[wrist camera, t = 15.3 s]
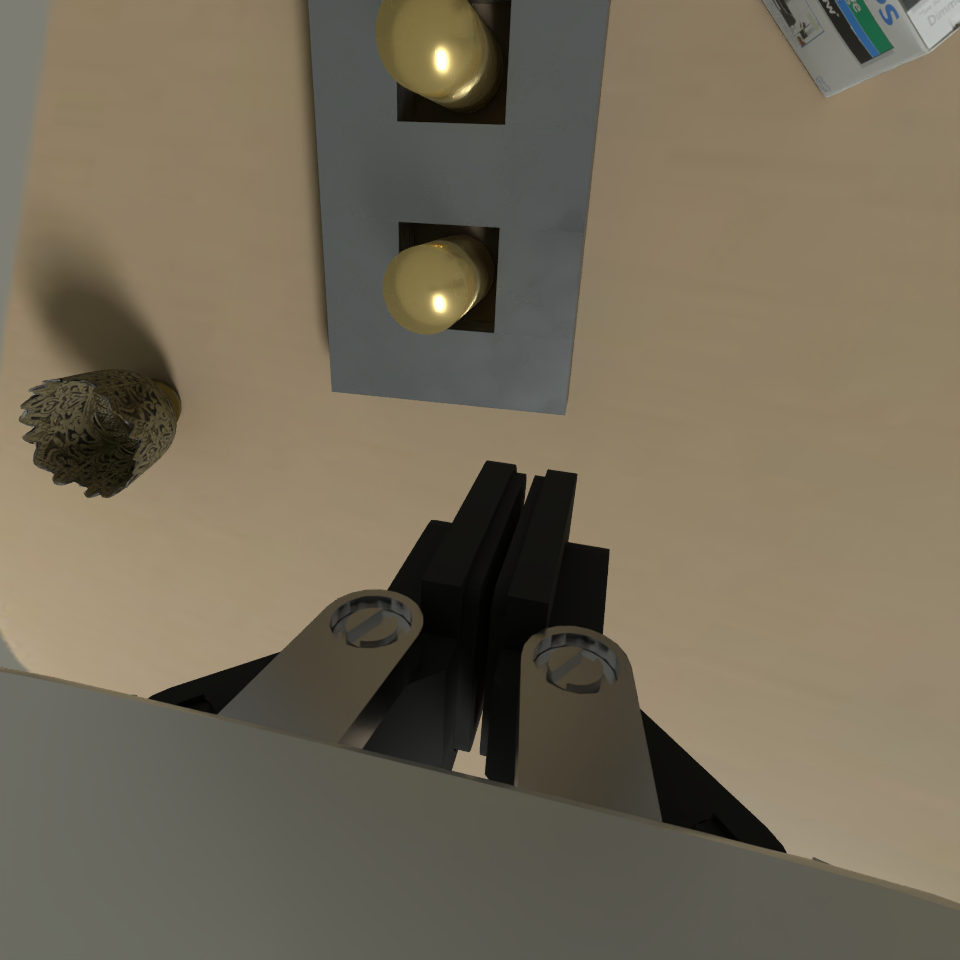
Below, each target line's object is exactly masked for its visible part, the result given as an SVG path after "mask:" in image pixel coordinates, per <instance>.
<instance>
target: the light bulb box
mask: <svg viewBox="0 0 960 960" xmlns="http://www.w3.org/2000/svg"><path fill="white" fill-rule="evenodd" d="M762 1H763V3H764V4H765V6H766V7H767V9H768V10H769V12H770V14H771V15H772V17H773V18H774V20H775V21H776V23H777V24H778V26H779V28H780V29H781V31H782V32H783V34H784V35H785V37H786V38H787V40H788V41H789V43H790V45H791V46H792V48H793V49H794V51H795V52H796V54H797V55H798V57H799V58H800V60H801V61H802V63H803V65H804V66H805V68H806V69H807V71H808V72H809V74H810V75H811V77H812V78H813V80H814V81H815V83H816V84H817V86H818V88H819V89H820V91H821V92H822V93H823V95H824V96H825V97H827V98H828V97H831V96H833V95H835V94H837V93H839V92H842V91H844V90H846V89H848V88H850V87H852V86H854V85H856V84H859V83H861V82H863V81H865V80H867V79H870V78H872V77H875V76H877V75H879V74H882V73H884V72H886V71H888V70H891V69H893V68H895V67H897V66H900V65H902V64H904V63H907V62H909V61H912V60H914V59H916V58H919V57H921V56H923V55H926V54H928V53H930V52H931V51H932V50H934V49H935V48H936V47H937V46H938V45H940V44H941V43H942V42H943V41H945V40H946V39H947V38H948V37H950V36H951V35H952V34H953V33H954V32H956V31H957V30H958V29H959V28H960V0H762Z"/></svg>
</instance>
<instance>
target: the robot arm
mask: <svg viewBox="0 0 960 960" xmlns="http://www.w3.org/2000/svg"><path fill="white" fill-rule="evenodd" d="M576 482H577V474H576V473H569V472H562V471H555V470H549V469H548V470H547V473H546V476H545V477H543V476H536V475H535V477H534V479H533V482H532V485H531V488H530V490H529V493H528V496H527V499H526V502H525V504H524V500H525V490H526V474H523V473H517V467H516V465H515V464H508V463H501V462H494V461H486V462H485V464H484V466H483V468H482V470H481V471H480V473H479V475H478V477H477V479H476V480H475V482H474V484H473V486H472V488H471V490H470V491H469V493H468V495H467V497H466V499H465V500H464V502H463V504H462V506H461V508H460V510H459V511H458V513H457V515H456V517H455V519H454V520H453V522H452V523H450V522H444V521H438V520H431V521H430V522H429V524H428V525H427V527H426V528H425V530H424V532H423V533H422V535H421V536H420V538H419V540H418V541H417V543H416V545H415V546H414V548H413V549H412V551H411V553H410V554H409V556H408V557H407V559H406V561H405V562H404V564H403V566H402V567H401V569H400V570H399V572H398V574H397V575H396V577H395V579H394V580H393V582H392V583H391V585H390V587H389V588H388V590H363V591H358V592H353V593H350V594H347V595H345V596H343V597H340V598H338V599H337V600H335V601H334V602H332V603H331V604H330V605H328V606H327V607H326V608H325V609H324V610H323V611H322V612H321V613H320V614H319V615H318V616H317V617H316V618H315V619H314V620H313V621H312V622H311V623H310V624H309V625H308V626H307V627H306V628H305V629H304V630H303V631H302V632H301V633H300V634H299V635H298V636H297V637H296V638H295V639H293V640H292V641H291V642H290V643H289V644H288V645H287V646H286V647H285V648H284V649H283V650H282V651H281V652H279V653H275V654H272V655H269V656H266V657H263V658H260V659H257V660H254V661H251V662H248V663H245V664H242V665H239V666H236V667H233V668H229V669H226V670H223V671H220V672H217V673H214V674H211V675H208V676H205V677H202V678H199V679H196V680H193V681H190V682H187V683H183V684H180V685H177V686H174V687H171V688H169V689H166V690H164V691H162V692H159V693H157V694H155V695H152V696H151V697H149V698H148V699H146V698H142V697H138V696H137V695H129V694H125V693H121V692H116V691H112V690H107V689H103V688H99V687H94V686H90V685H85V684H81V683H77V682H72V681H68V680H64V679H59V678H55V677H50V676H45V675H40V674H35V673H29V672H24V671H19V670H14V669H8V668H3V667H0V960H960V904H959V903H957V902H954V901H951V900H948V899H945V898H943V897H940V896H937V895H934V894H931V893H928V892H924V891H921V890H917V889H914V888H910V887H907V886H903V885H900V884H896V883H892V882H889V881H885V880H882V879H878V878H875V877H871V876H868V875H864V874H860V873H857V872H853V871H850V870H846V869H843V868H839V867H836V866H833V865H830V864H828V863H826V862H823V861H821V860H819V859H817V858H814V857H813V858H812V860H811V859H807V858H803V857H799V856H795V855H791V854H787V852H786V851H785V849H784V847H783V845H782V844H781V843H780V842H779V841H778V840H777V839H776V837H775V836H774V835H773V834H772V833H771V832H770V830H769V829H768V828H767V827H766V826H765V825H764V824H763V823H761V822H760V821H759V820H758V819H757V818H756V817H755V816H754V815H753V814H752V813H751V812H750V811H749V810H748V809H747V808H745V807H744V806H743V805H742V804H741V803H740V802H739V801H738V800H737V799H736V798H735V797H734V796H733V795H732V794H731V793H730V792H728V791H727V790H726V789H725V788H724V787H723V786H722V785H721V784H720V783H719V782H718V781H717V780H716V779H715V778H714V777H712V776H711V775H710V774H709V773H708V772H707V771H706V770H705V769H704V768H703V767H702V766H701V765H700V764H699V763H698V762H696V761H695V760H694V759H693V758H692V757H691V756H690V755H689V754H688V753H687V752H686V751H685V750H684V749H683V748H682V747H680V746H679V745H678V744H677V743H676V742H675V741H674V740H673V739H672V738H671V737H670V736H669V735H668V734H667V733H666V732H664V731H663V730H662V729H661V728H660V727H659V726H658V725H657V724H656V723H655V722H654V721H653V720H652V719H651V718H650V717H648V716H647V715H646V714H645V713H644V712H643V711H642V710H641V709H640V706H639V701H638V696H637V691H636V686H635V681H634V676H633V671H632V666H631V664H630V662H629V659H628V657H627V655H626V653H625V652H624V651H623V650H622V649H621V648H620V647H619V645H618V644H617V643H615V642H614V641H612V640H611V639H609V638H608V637H606V636H605V635H603V625H604V613H605V601H606V588H607V576H608V564H609V551H610V550H609V549H606V548H600V547H594V546H588V545H582V544H576V543H570V542H568V540H569V532H570V525H571V518H572V511H573V504H574V497H575V489H576ZM482 711H483V716H482V728H481V741H480V755H483V756H486V767H485V775H486V776H487V778H488V779H489V780H488V779H484V778H480V777H475V776H471V775H467V774H463V773H459V772H455V771H452V768H453V765H454V761H455V758H456V755H457V752H458V750H462V751H466V752H470V750H471V748H472V744H473V741H474V738H475V734H476V731H477V728H478V724H479V721H480V718H481V714H482Z"/></svg>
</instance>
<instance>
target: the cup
mask: <svg viewBox="0 0 960 960" xmlns="http://www.w3.org/2000/svg"><path fill="white" fill-rule="evenodd" d="M42 382H43V385H40V386H36V387H34V388H31V389H29V390H28V391H29V392H32V393H33V394H35V395H33V396H31V397H30V399H28V400H27V401H25V402H24V403H23V404H22V405H21V409H25V410H26V411H24V412H23V414H22V415H21V416H20V417H19V421H20V422H21V423H23V424H25V425H28V426H32V427H33V426H35V427H34V428H33V429H32V430H31V431H30V432H28V433H26V434H25V435H24V436H23V437H22V438H23V440H25V441H26V442H28V443H31V444H34V443H33V442H36V443H37V444H36V443H35V444H36V450H35V452H34V456H33V461H34V464H35V465H36V466H37V467H39V468H41V469H43V470H46V471H48V472H52V473H53V474H54V475H53V478H52V480H53V482H54V484H56V485H61V486H62V485H65V484H69V483H72V482H76V483H78V484H79V487H87V488H88V489H87V490H86V491H85V493H84V495H85V496H86V497H87V498H91V497H95V496H98V495H101V496H102V497H104V498H110V497H112V496H114V495H116V494H117V493H119V492H120V491H122V490H123V489H124V488H127V487H128V486H129V485H130V484H131V483H132V482H133V481H134V480H136V479H137V478H138V477H139V476H140V475H142V474H143V473H144V472H145V471H146V470H147V469H149V468H150V467H151V466H152V465H153V464H154V463H156V462H157V461H158V460H159V459H160V458H161V457H162V456H163V455H164V453H165V452H166V451H167V450H168V448H169V447H170V445H171V444H172V441H173V439H174V437H175V433H176V426H177V421H178V419H179V417H180V414H181V402H180V399H179V397H178V395H177V393H176V392H175V391H174V389H173V388H172V387H171V386H169V385H168V384H166V383H165V382H163V381H160V380H157V379H150V378H147V377H145V376H143V375H141V374H138V373H135V372H132V371H126V370H101V371H95V372H89V373H84V374H79V375H73V376H68V377H64V378H59V379H53V380H45V381H42Z"/></svg>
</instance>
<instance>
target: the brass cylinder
mask: <svg viewBox="0 0 960 960" xmlns="http://www.w3.org/2000/svg"><path fill="white" fill-rule="evenodd" d="M493 279H494V264H493V261H492V258H491V255H490V253H489V252H488V250H487V249H486V247H485V246H484V245H483V244H482V243H481V242H479V241H478V240H476V239H475V238H473V237H470V236H467V235H452V236H449V237H445V238H442V239H438V240H435V241H432V242H428V243H425V244H421V245H418V246H414V247H411V248H408V249H406V250H404V251H402V252H400V253H399V254H398V255H396V256H395V257H394V258H393V259H392V261H391V262H390V263H389V265H388V267H387V269H386V271H385V274H384V278H383V297H384V301H385V304H386V307H387V309H388V311H389V312H390V314H391V316H392V317H393V318H394V319H395V321H396V322H398V323H399V324H400V325H401V326H402V327H404V328H405V329H407V330H409V331H411V332H414V333H417V334H423V335H430V334H436V333H439V332H442V331H444V330H446V329H447V328H449V327H450V326H451V325H453V324H454V323H455V322H456V321H457V320H458V319H460V318H461V317H462V316H463V315H464V314H465V313H467V312H468V311H469V310H470V309H471V308H472V307H474V306H475V305H476V304H477V303H478V302H479V301H481V300H482V299H483V298H484V297H485V296H486V295H487V293H488V292H489V290H490V288H491V286H492V283H493Z"/></svg>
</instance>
